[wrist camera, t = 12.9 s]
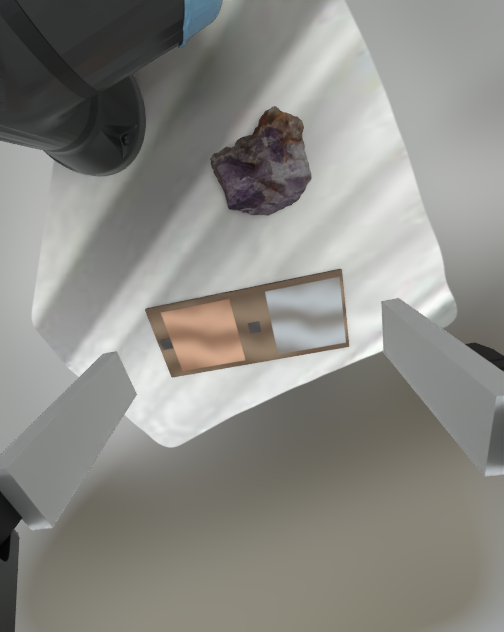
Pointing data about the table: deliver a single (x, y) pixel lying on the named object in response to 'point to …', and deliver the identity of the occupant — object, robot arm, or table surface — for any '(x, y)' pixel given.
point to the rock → (265, 166)
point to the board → (252, 324)
